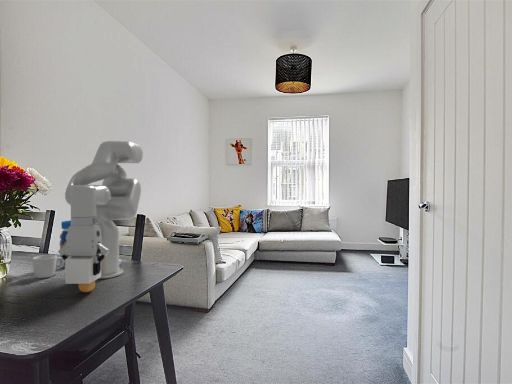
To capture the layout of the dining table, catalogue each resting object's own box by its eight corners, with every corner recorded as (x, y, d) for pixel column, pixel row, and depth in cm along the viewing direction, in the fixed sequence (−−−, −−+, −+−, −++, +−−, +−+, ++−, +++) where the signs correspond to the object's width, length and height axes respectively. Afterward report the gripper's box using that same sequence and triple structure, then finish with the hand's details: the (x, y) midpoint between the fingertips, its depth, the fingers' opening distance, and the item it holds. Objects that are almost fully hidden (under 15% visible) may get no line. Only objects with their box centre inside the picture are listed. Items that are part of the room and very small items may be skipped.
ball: (79, 294, 104) (85, 281, 108) (94, 294, 104) (99, 281, 108) (73, 287, 101) (79, 274, 104) (88, 288, 101) (94, 274, 104)
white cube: (79, 276, 106) (78, 254, 106) (101, 276, 106) (101, 254, 106) (65, 283, 99) (65, 259, 99) (89, 283, 99) (88, 259, 99)
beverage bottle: (67, 262, 143) (67, 220, 142) (85, 262, 142) (85, 220, 142) (55, 267, 134) (54, 222, 134) (74, 267, 134) (73, 222, 133)
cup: (60, 271, 129) (60, 252, 129) (67, 274, 124) (67, 255, 124) (29, 277, 121) (29, 257, 120) (36, 281, 116) (35, 260, 115)
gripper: (114, 220, 106) (115, 271, 106) (64, 220, 106) (65, 271, 106) (104, 223, 99) (104, 277, 99) (50, 223, 99) (50, 277, 99)
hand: (84, 274), depth 103 cm, fingers closed on white cube, 7 cm apart
